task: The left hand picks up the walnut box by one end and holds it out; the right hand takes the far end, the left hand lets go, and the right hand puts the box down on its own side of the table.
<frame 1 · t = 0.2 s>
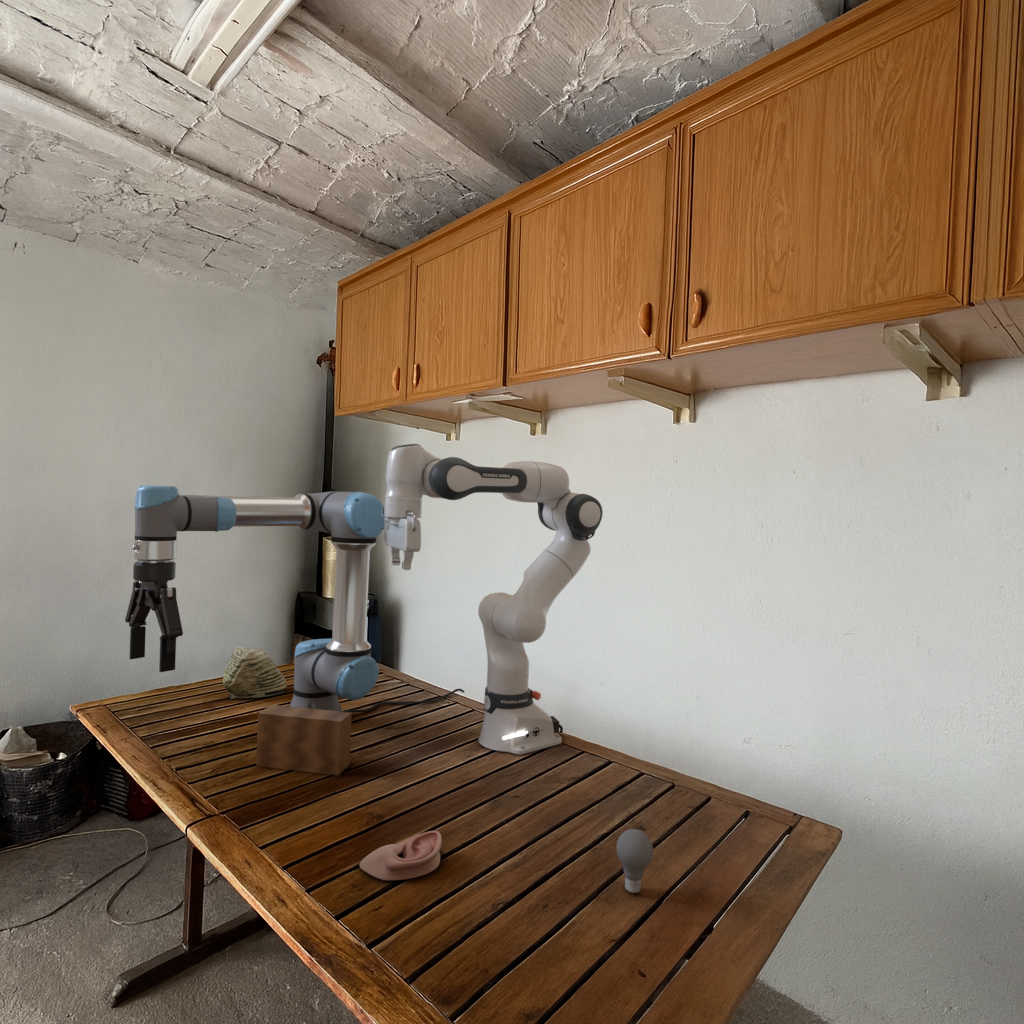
left hand: (151, 664, 130), 28 cm above the table, tool pointing down, fingers open, 13 cm apart
right hand: (401, 567, 154), 47 cm above the table, tool pointing down, fingers open, 8 cm apart
box: (303, 765, 149), on the table
fossil: (254, 694, 198), on the table
anatomical model: (401, 863, 111), on the table
light bulb: (632, 891, 106), on the table
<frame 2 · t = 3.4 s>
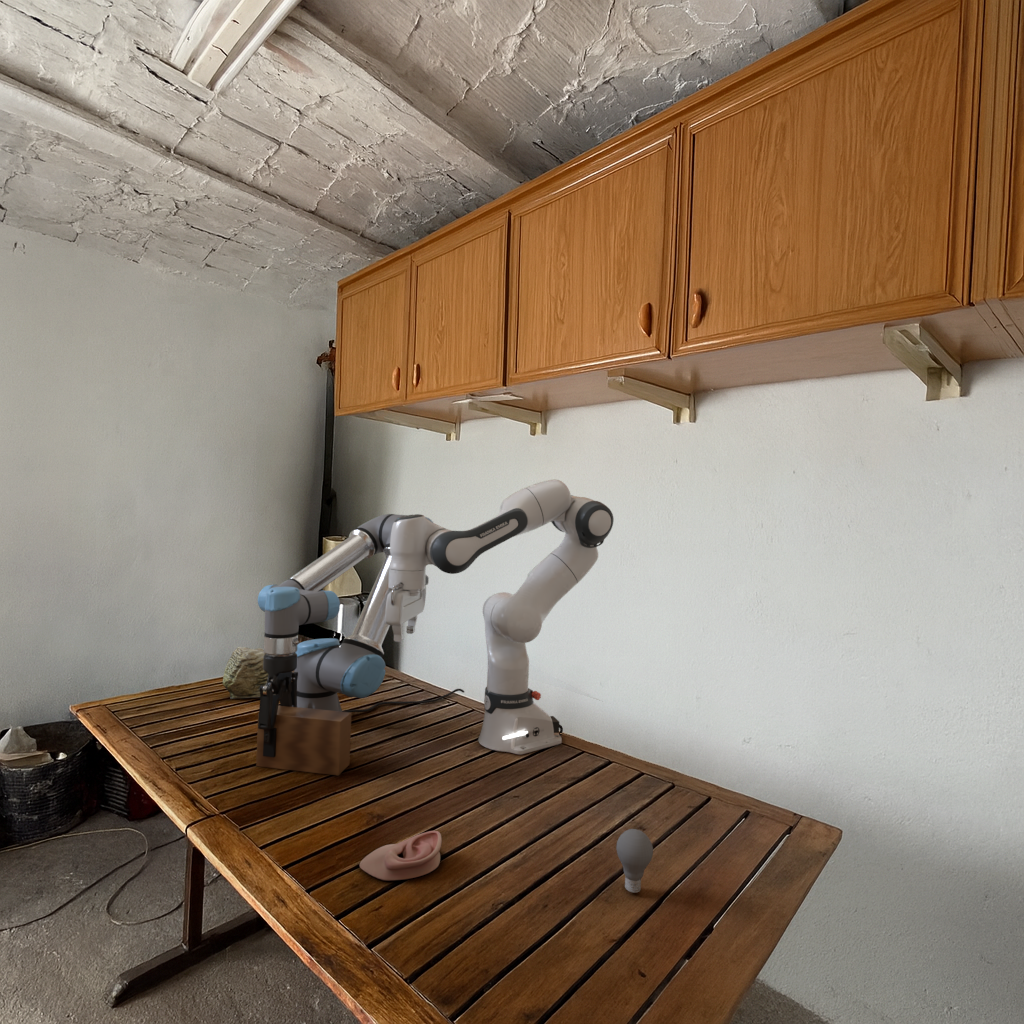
left hand: (277, 750, 150), 3 cm above the table, tool pointing down, fingers closed on box, 6 cm apart
right hand: (404, 637, 155), 30 cm above the table, tool pointing down, fingers open, 8 cm apart
box: (303, 765, 149), on the table, touching left hand
everything else where it was.
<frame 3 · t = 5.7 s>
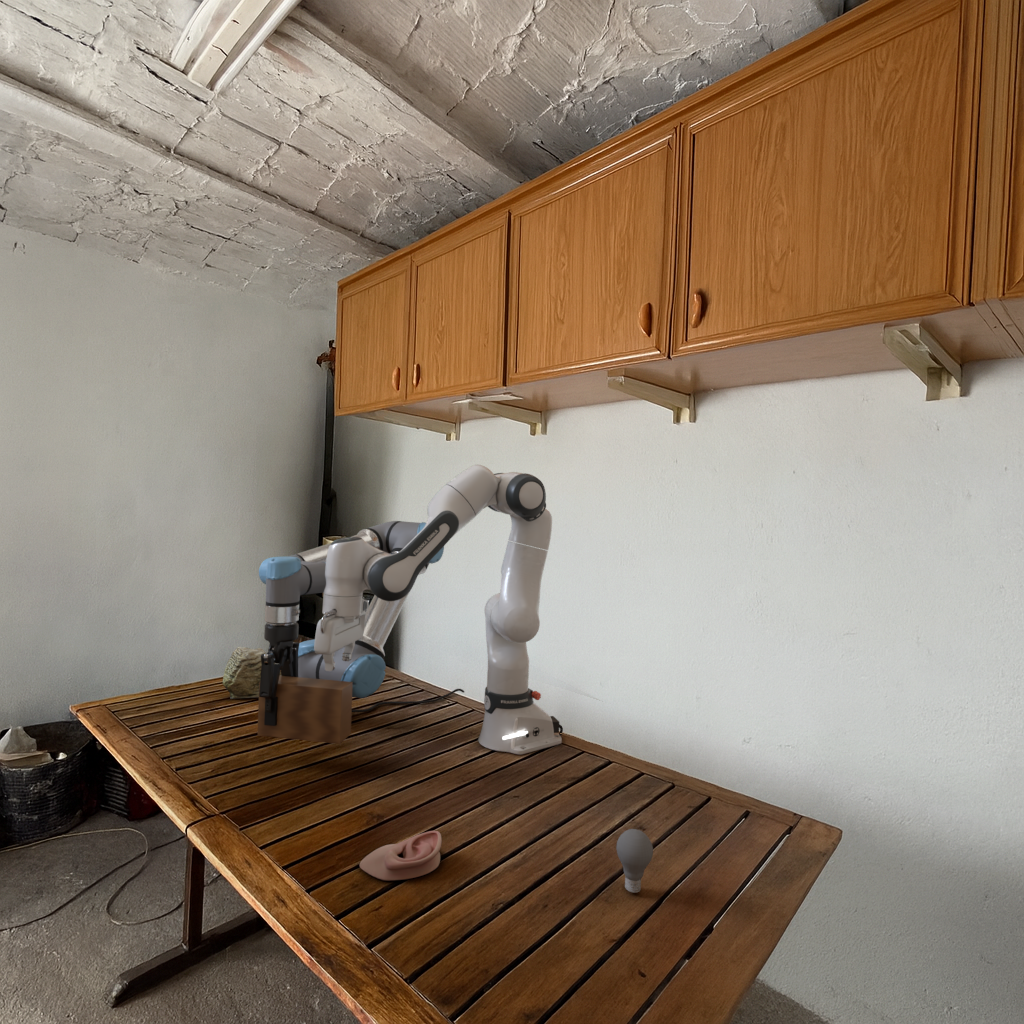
left hand: (278, 719, 150), 10 cm above the table, tool pointing down, fingers closed on box, 6 cm apart
right hand: (338, 665, 148), 24 cm above the table, tool pointing down, fingers open, 8 cm apart
box: (304, 734, 149), point 7 cm above the table, touching left hand
everything else where it was.
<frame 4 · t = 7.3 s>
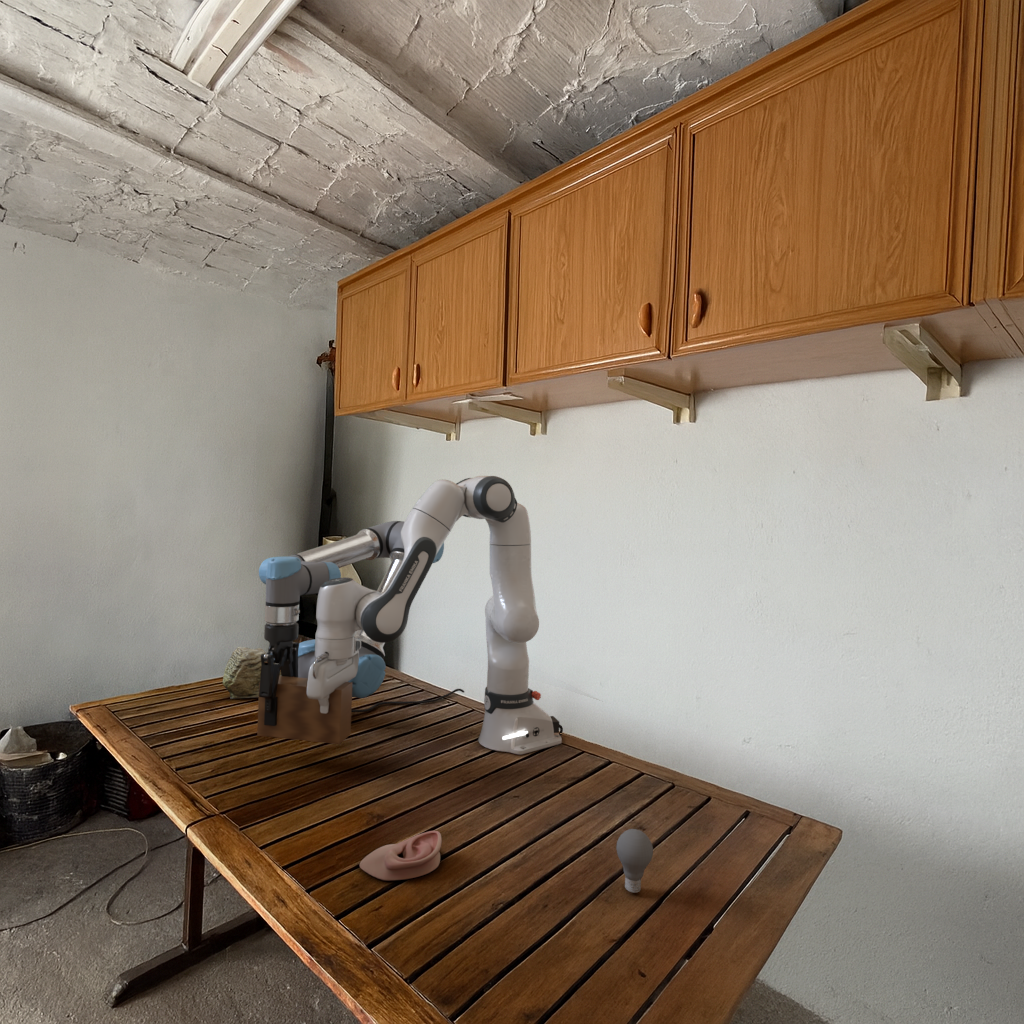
left hand: (278, 719, 150), 10 cm above the table, tool pointing down, fingers closed on box, 6 cm apart
right hand: (332, 707, 147), 14 cm above the table, tool pointing down, fingers closed on box, 6 cm apart
box: (304, 734, 149), point 7 cm above the table, touching left hand, right hand
everything else where it was.
when the left hand's fingers open (10 cm above the table, at t = 8.3 s): box stays where it is, held by the right hand.
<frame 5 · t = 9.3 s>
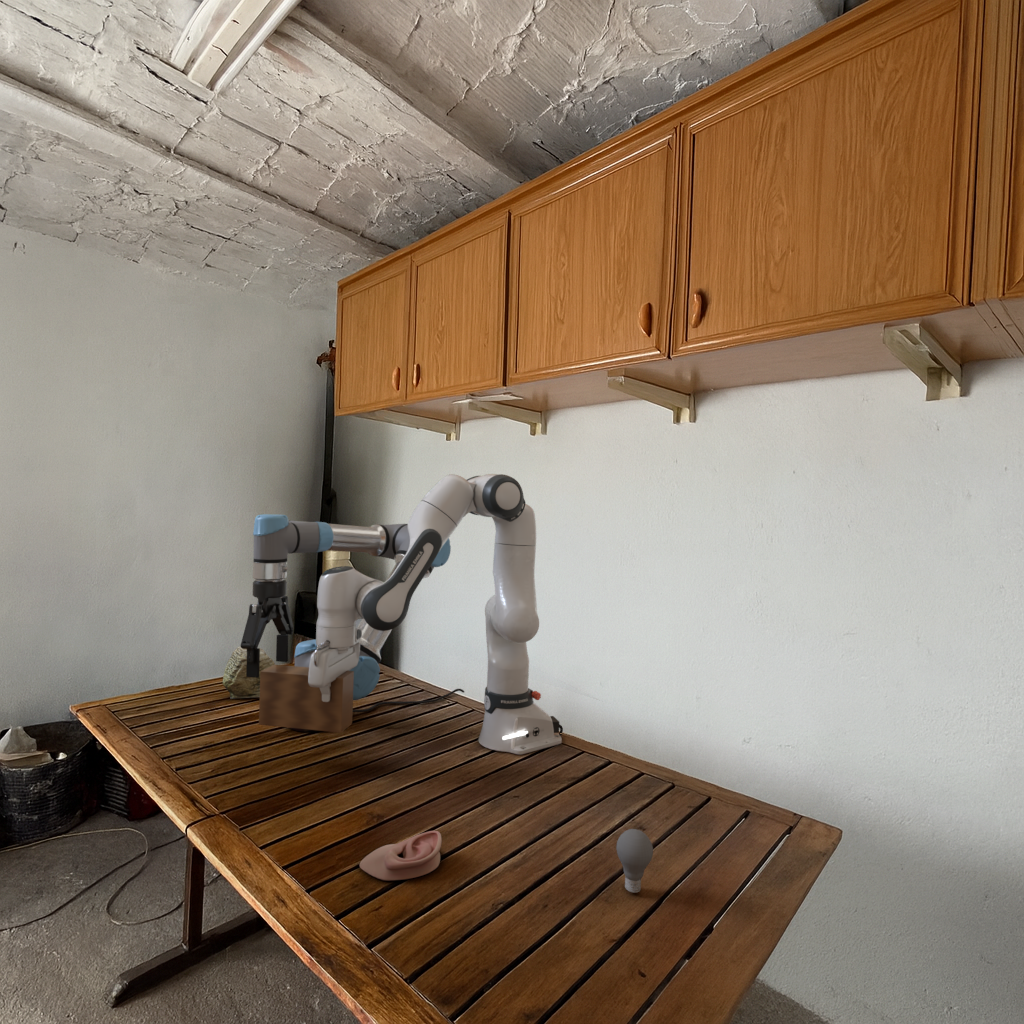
left hand: (268, 668, 150), 22 cm above the table, tool pointing down, fingers open, 13 cm apart
right hand: (333, 695, 147), 17 cm above the table, tool pointing down, fingers closed on box, 6 cm apart
box: (305, 724, 148), point 10 cm above the table, touching right hand
everything else where it was.
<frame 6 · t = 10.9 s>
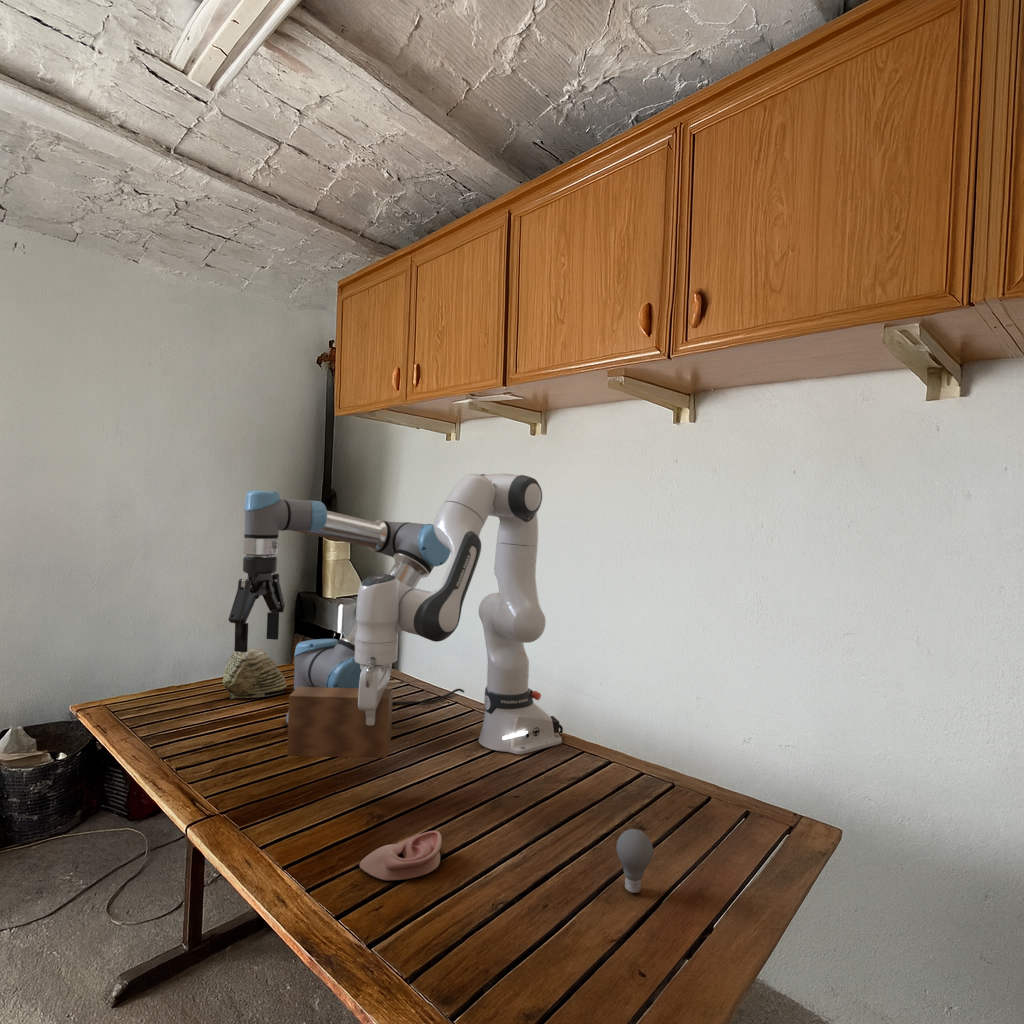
left hand: (257, 645, 150), 27 cm above the table, tool pointing down, fingers open, 13 cm apart
right hand: (373, 717, 133), 17 cm above the table, tool pointing down, fingers closed on box, 6 cm apart
box: (340, 751, 133), point 10 cm above the table, touching right hand
everything else where it was.
when the right hand's fingers open (8 cm above the table, at t = 12.3 s): box moves 1 cm, on the table.
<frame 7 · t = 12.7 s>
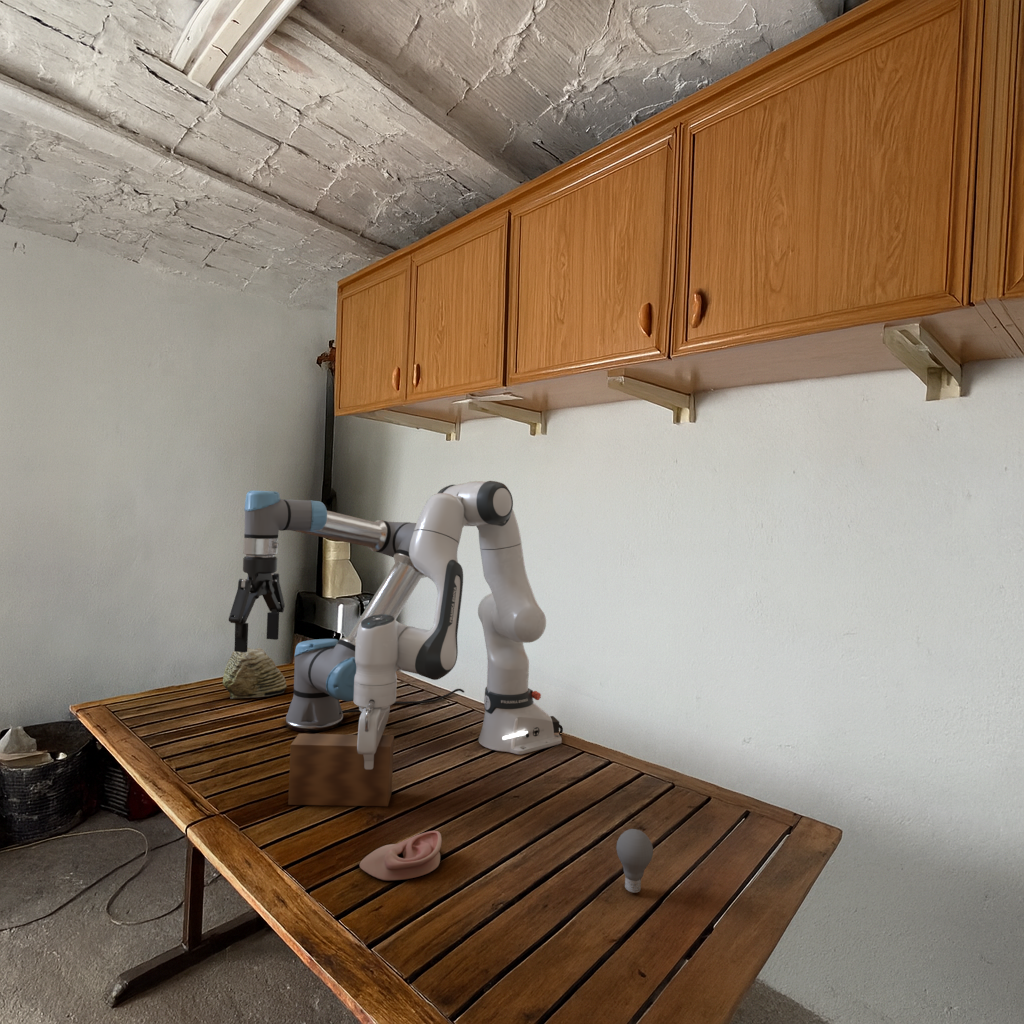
left hand: (257, 645, 150), 27 cm above the table, tool pointing down, fingers open, 13 cm apart
right hand: (372, 758, 134), 9 cm above the table, tool pointing down, fingers open, 8 cm apart
box: (341, 798, 133), on the table
everything else where it was.
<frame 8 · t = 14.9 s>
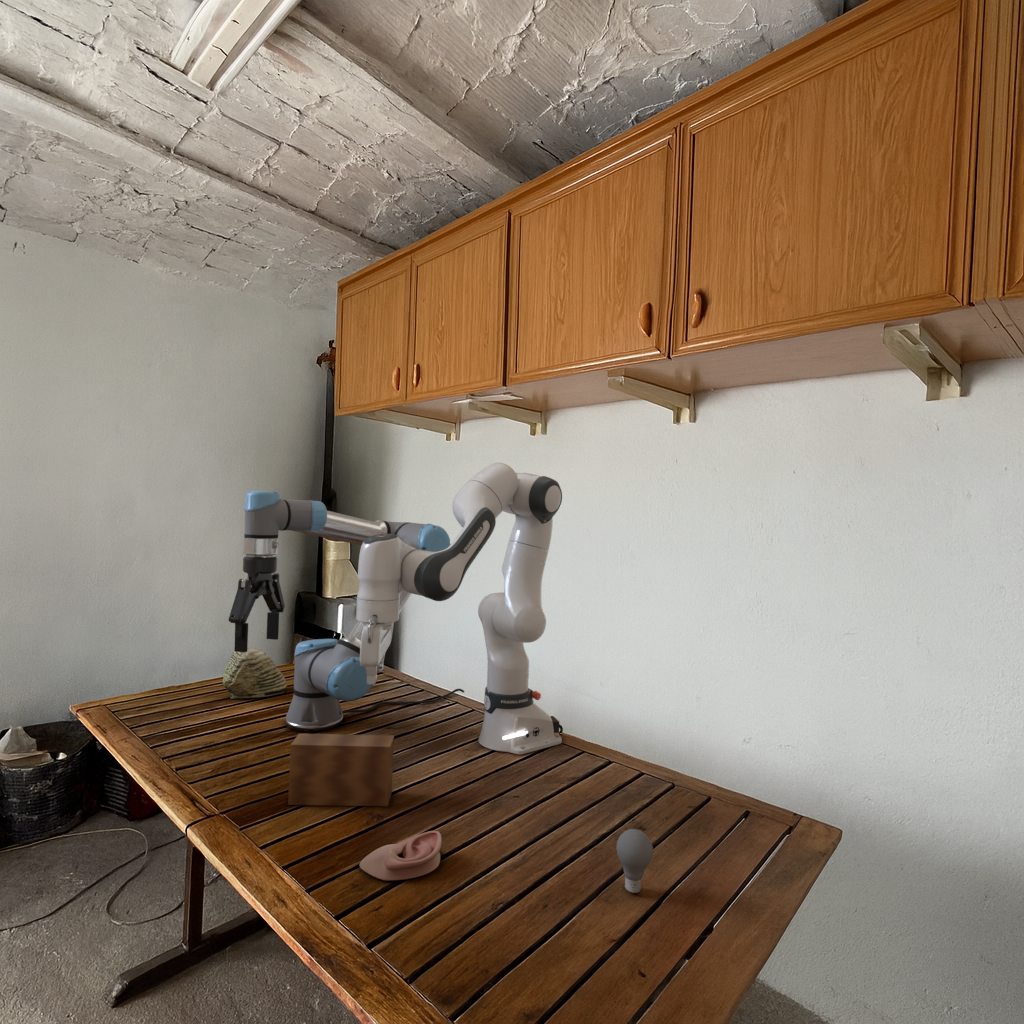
left hand: (257, 645, 150), 27 cm above the table, tool pointing down, fingers open, 13 cm apart
right hand: (375, 676, 133), 26 cm above the table, tool pointing down, fingers open, 8 cm apart
nothing on the table moved.
at the end: box inside the target area (6.1 cm from its centre), on the table; the left hand is holding nothing; the right hand is holding nothing; box at rest at the end (0.0 cm/s) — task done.
